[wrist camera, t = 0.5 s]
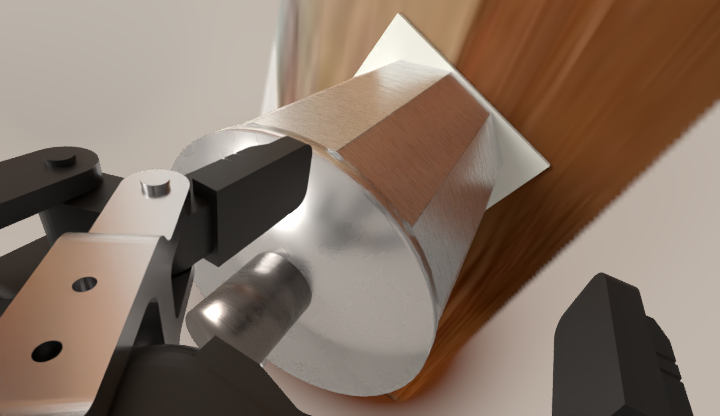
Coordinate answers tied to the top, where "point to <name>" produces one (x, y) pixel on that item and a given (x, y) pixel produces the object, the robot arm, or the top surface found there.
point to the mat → (414, 47)
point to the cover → (356, 229)
